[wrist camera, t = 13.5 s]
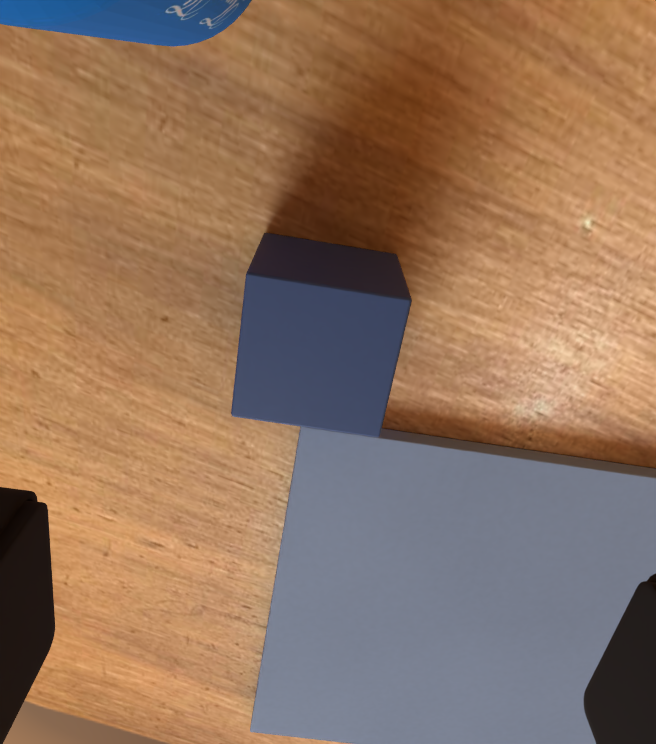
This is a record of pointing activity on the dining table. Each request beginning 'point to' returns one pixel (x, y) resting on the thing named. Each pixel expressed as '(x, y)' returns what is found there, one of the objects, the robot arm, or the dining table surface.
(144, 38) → the beverage can
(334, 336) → the blue block
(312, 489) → the blue mat
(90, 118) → the dining table surface
